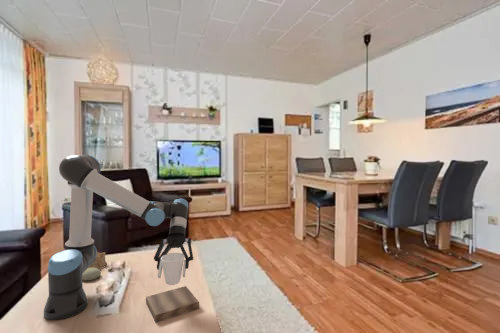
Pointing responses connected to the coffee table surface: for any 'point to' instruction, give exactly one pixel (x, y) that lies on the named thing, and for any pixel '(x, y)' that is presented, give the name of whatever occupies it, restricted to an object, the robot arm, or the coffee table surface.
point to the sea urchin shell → (91, 274)
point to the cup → (172, 267)
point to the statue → (99, 261)
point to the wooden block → (171, 303)
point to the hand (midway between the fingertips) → (171, 276)
